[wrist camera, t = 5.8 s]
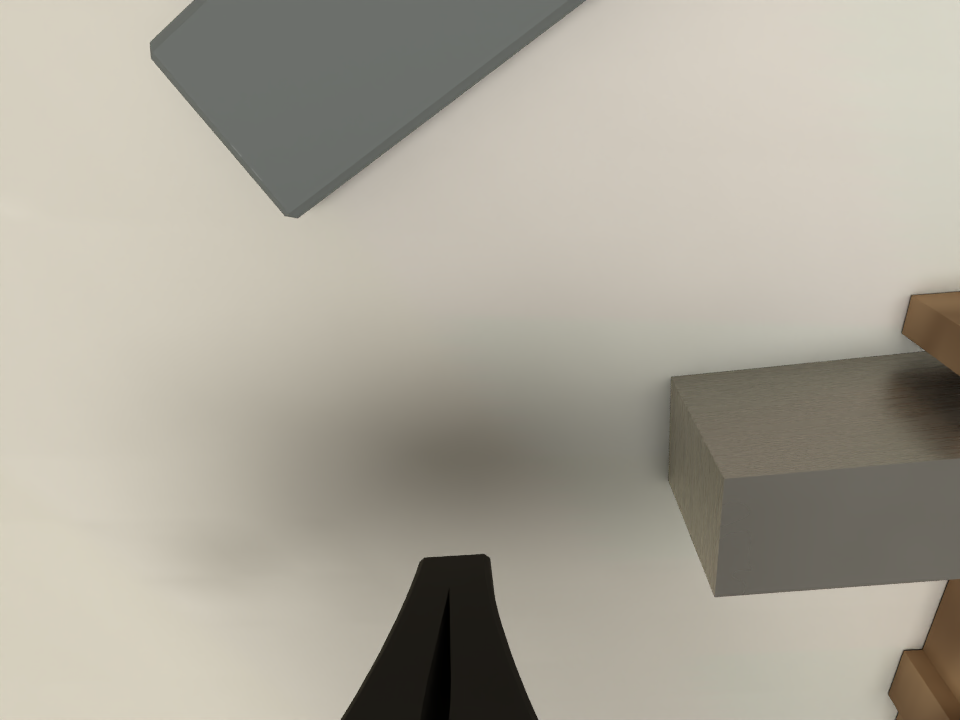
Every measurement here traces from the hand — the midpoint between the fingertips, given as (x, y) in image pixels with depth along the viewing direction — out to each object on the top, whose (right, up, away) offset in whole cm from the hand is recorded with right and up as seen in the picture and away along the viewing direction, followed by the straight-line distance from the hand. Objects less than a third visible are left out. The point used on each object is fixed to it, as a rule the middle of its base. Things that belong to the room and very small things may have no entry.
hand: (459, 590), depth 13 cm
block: (+9, +3, +4) cm, 11 cm away
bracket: (0, +12, -1) cm, 12 cm away
